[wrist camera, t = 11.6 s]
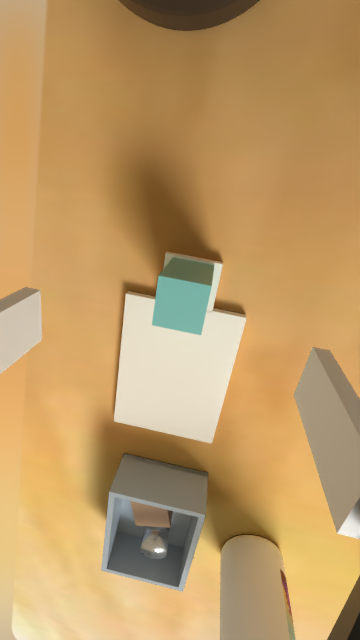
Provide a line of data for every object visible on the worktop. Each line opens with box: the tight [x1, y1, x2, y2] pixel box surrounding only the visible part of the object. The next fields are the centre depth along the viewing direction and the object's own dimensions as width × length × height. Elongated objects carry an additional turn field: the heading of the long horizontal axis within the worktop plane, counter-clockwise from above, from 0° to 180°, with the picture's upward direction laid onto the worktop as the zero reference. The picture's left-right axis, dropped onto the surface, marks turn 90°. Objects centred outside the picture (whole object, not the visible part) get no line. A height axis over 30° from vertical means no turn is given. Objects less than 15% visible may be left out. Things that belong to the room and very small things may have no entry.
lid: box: [114, 251, 246, 444], centre depth 27 cm, size 19×11×7 cm, turn 171°
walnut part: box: [130, 501, 173, 528], centre depth 35 cm, size 4×4×3 cm
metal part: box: [140, 526, 170, 559], centre depth 37 cm, size 3×3×3 cm
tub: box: [101, 453, 208, 592], centre depth 36 cm, size 14×10×5 cm
